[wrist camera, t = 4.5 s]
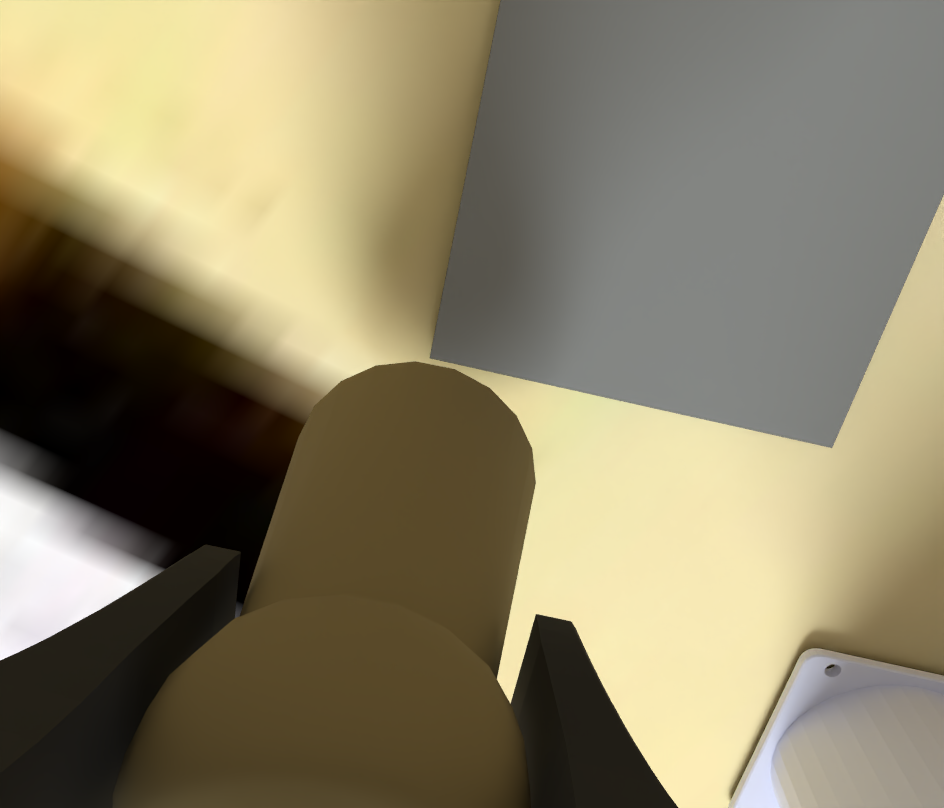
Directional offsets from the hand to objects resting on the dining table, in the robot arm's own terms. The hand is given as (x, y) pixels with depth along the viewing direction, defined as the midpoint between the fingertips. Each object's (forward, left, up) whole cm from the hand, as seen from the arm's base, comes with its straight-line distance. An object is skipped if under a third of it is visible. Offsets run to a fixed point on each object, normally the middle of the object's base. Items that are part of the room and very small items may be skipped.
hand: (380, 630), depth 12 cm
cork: (0, 0, -6) cm, 6 cm away
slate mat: (-5, -8, -10) cm, 14 cm away
